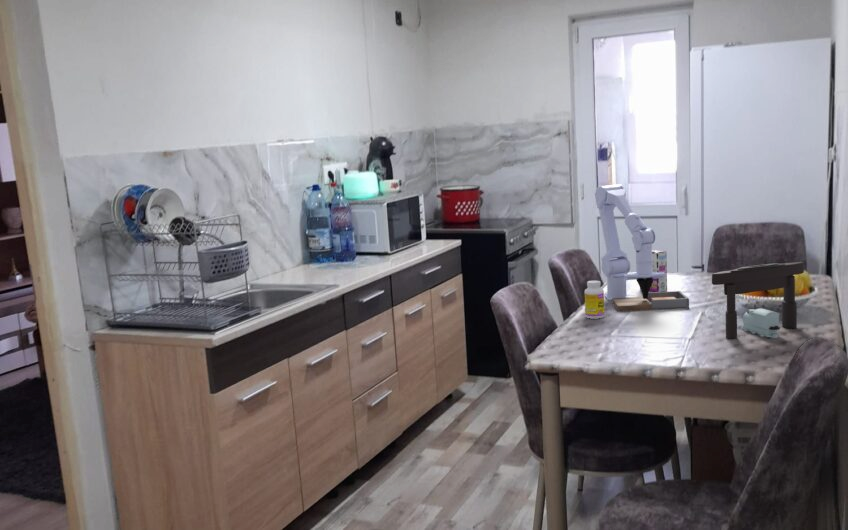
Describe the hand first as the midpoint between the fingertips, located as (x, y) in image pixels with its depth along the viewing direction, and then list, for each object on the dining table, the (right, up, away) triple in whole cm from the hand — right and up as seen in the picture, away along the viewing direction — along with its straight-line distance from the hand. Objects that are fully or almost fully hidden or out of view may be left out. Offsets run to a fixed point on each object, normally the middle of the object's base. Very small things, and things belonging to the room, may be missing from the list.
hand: (645, 298), depth 284 cm
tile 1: (+5, -2, 0) cm, 5 cm away
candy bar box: (+11, +2, +26) cm, 28 cm away
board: (-5, -3, +1) cm, 6 cm away
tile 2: (+9, -2, -1) cm, 9 cm away
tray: (+8, -2, 0) cm, 8 cm away
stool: (+22, -9, -46) cm, 52 cm away
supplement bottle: (-21, -6, -11) cm, 25 cm away
